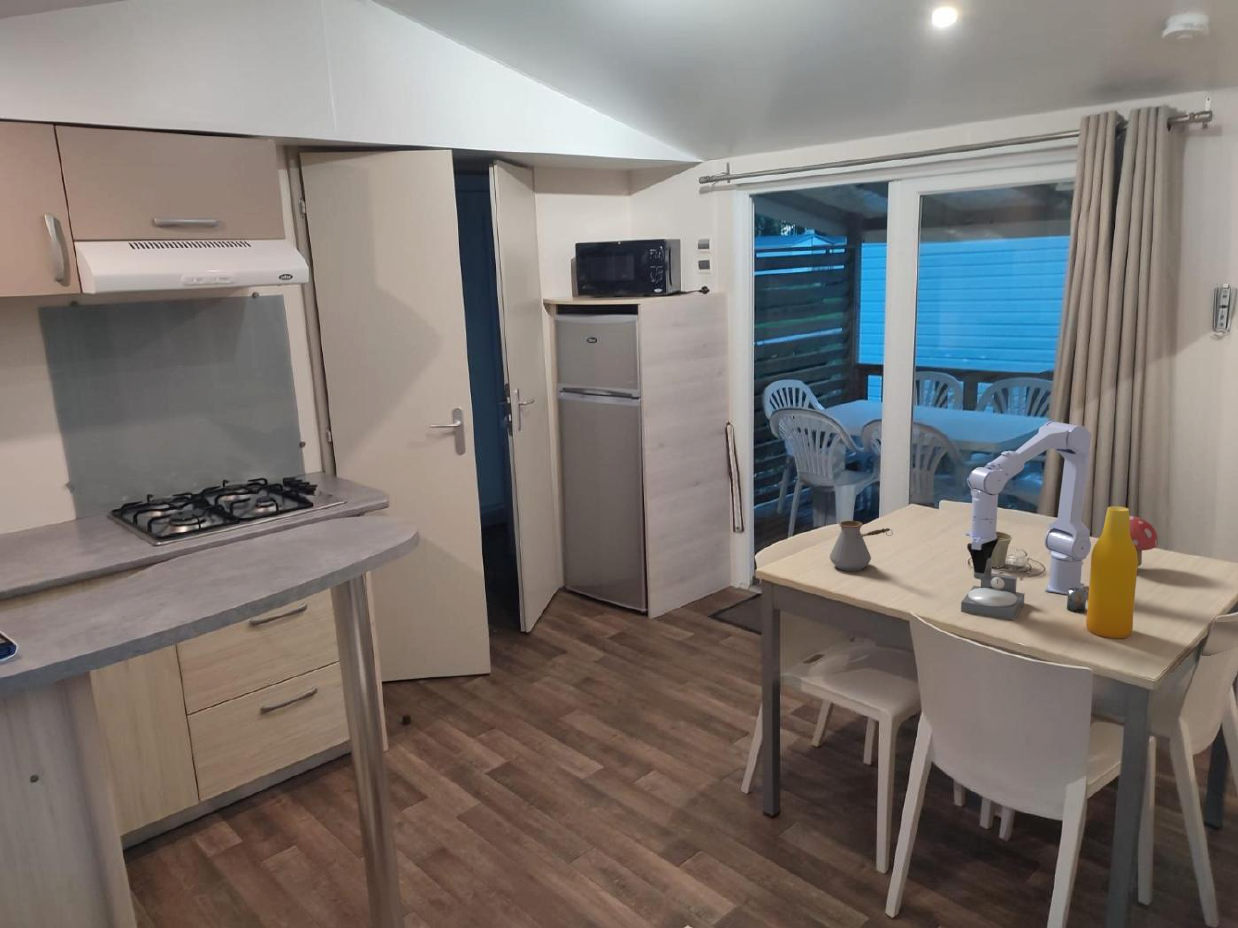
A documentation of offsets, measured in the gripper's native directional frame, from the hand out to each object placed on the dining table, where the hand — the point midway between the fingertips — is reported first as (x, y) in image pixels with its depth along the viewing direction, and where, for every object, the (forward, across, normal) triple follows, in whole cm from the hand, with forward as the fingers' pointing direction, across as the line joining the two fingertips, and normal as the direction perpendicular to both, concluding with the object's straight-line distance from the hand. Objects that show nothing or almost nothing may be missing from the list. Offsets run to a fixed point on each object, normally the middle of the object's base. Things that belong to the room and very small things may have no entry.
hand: (981, 569), depth 216 cm
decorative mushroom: (+10, -46, +28) cm, 55 cm away
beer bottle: (+10, +2, +28) cm, 30 cm away
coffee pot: (+10, -12, -34) cm, 37 cm away
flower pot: (+10, -34, -4) cm, 35 cm away
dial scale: (+10, -1, +3) cm, 10 cm away
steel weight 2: (+10, -8, +20) cm, 24 cm away
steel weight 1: (+2, 0, 0) cm, 2 cm away
